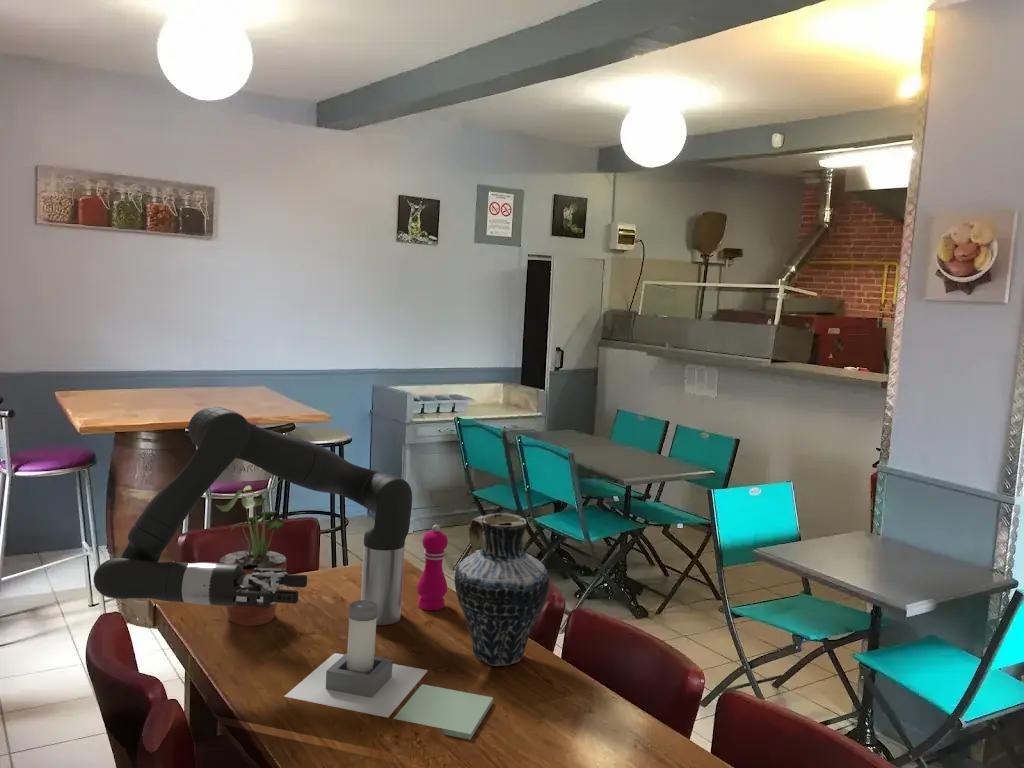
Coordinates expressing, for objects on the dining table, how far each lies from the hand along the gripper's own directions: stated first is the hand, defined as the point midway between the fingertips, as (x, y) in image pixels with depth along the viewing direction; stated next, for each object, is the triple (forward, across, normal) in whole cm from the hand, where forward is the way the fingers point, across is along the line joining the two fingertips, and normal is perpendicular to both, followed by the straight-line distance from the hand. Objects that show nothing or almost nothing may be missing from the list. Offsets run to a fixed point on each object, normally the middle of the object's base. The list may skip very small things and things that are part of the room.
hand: (302, 588), depth 155 cm
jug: (+38, +16, +18) cm, 45 cm away
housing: (+12, 0, +18) cm, 22 cm away
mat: (+28, -8, +18) cm, 34 cm away
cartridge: (+12, 0, +18) cm, 21 cm away
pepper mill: (+24, +44, +18) cm, 53 cm away
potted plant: (-17, +33, +19) cm, 41 cm away
